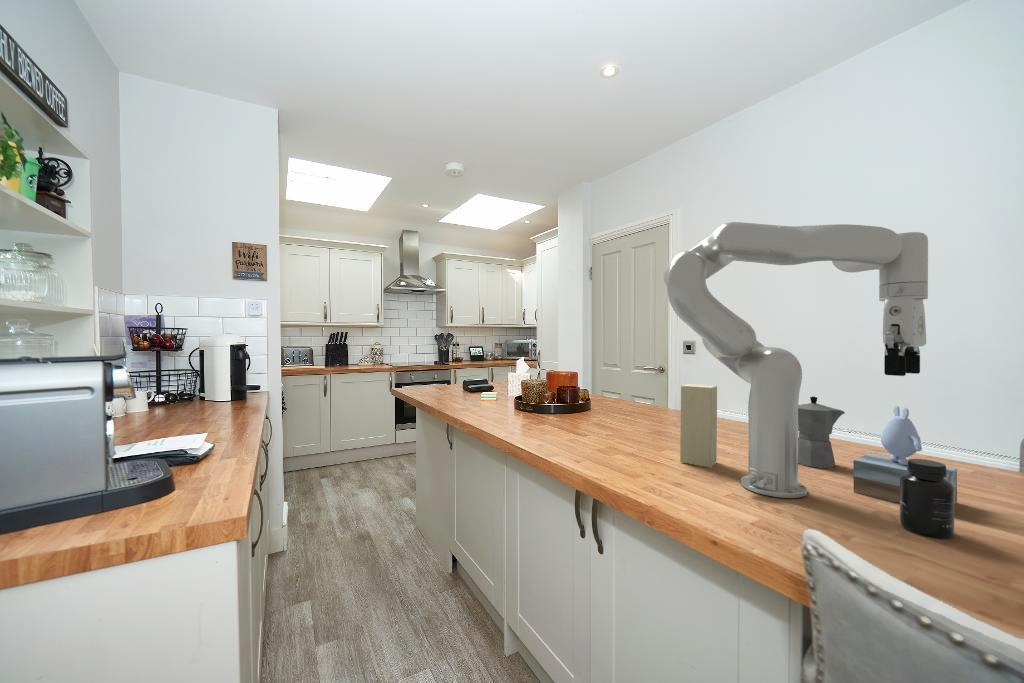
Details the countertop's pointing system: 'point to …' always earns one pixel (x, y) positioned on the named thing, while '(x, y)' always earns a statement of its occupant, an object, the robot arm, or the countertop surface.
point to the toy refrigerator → (698, 424)
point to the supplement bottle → (927, 499)
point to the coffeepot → (816, 434)
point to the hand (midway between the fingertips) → (902, 374)
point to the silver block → (885, 477)
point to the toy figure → (900, 437)
